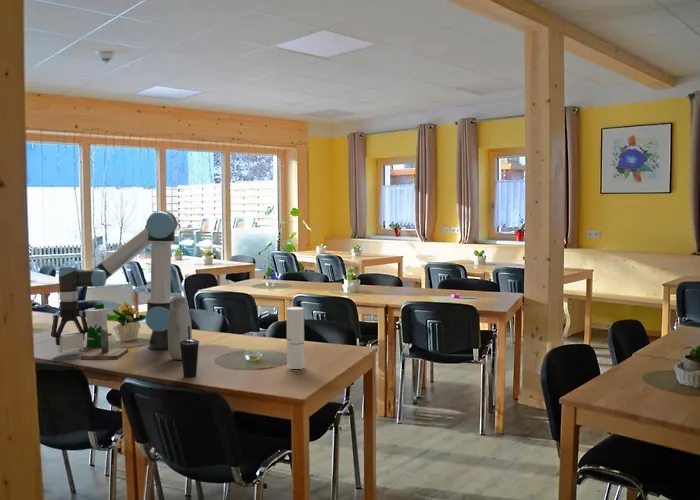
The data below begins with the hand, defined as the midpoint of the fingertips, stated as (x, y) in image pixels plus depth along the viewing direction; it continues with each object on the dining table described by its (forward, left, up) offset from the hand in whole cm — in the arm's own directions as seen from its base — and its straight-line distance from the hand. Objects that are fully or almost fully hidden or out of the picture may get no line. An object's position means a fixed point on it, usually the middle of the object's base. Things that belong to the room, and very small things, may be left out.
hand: (70, 350), depth 285 cm
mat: (0, 0, -3) cm, 3 cm away
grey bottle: (-51, +7, -3) cm, 52 cm away
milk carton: (-4, -20, -3) cm, 21 cm away
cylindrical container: (-103, +23, -3) cm, 106 cm away
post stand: (-15, -1, -3) cm, 15 cm away
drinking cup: (-62, +34, -3) cm, 71 cm away
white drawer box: (0, 0, +1) cm, 1 cm away
